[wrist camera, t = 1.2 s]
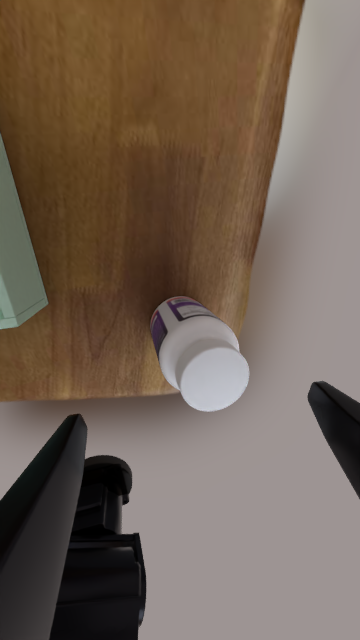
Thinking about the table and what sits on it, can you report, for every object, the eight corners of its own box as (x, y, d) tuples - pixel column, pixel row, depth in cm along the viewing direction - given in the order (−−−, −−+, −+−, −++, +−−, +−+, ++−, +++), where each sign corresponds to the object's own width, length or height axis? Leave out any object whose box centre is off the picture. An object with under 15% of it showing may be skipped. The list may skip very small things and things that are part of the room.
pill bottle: (177, 361, 23) (209, 438, 14) (137, 324, 21) (144, 386, 12) (218, 323, 22) (279, 376, 13) (181, 282, 21) (223, 313, 11)
